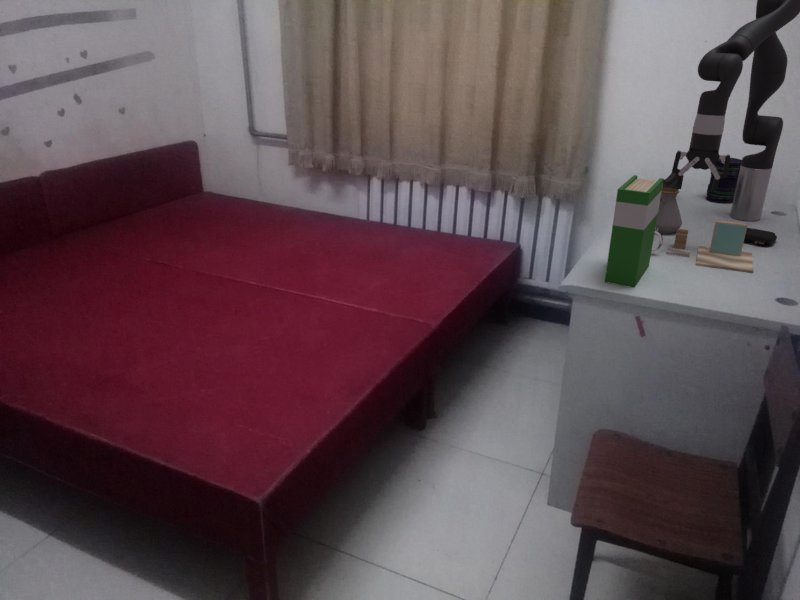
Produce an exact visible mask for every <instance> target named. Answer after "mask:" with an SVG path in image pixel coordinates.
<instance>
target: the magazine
mask: <svg viewBox="0 0 800 600" xmlns="http://www.w3.org/2000/svg"><path fill="white" fill-rule="evenodd" d="M663 179H664V180H663V186H662V188H672V189H676V190H678V191H680V189H679V187H677V180H678V175H677V174H675V173H673V172H672V171H671V173H670V174H669V175H668V177H666V178H663Z"/></svg>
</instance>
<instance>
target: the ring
mask: <svg viewBox="0 0 800 600" xmlns="http://www.w3.org/2000/svg"><path fill="white" fill-rule="evenodd" d="M654 235H657V236H658V239H659V244H658V246H657V247H656V248H655V249H653V250H652V251H651V254H654V253H656V252H658V251H659V250H660V249H661V247H662V245H663V239H664V238H663V236H662V233H659V232H658V228H657V230H656V227H655V233H654Z"/></svg>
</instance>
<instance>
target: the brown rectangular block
mask: <svg viewBox="0 0 800 600" xmlns="http://www.w3.org/2000/svg"><path fill="white" fill-rule="evenodd" d="M688 234H689V229H682V228H679V229H677V230H676V233H675V238H674V243H673V247H667V250H666V255H669V256H675V255H676V256H677V257H685V258H690V255H691V250H689V249H686V244H687V240H688Z"/></svg>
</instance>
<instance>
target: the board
mask: <svg viewBox="0 0 800 600" xmlns="http://www.w3.org/2000/svg"><path fill="white" fill-rule="evenodd" d="M709 251H710V246H704V245H703V246H702V245H698V247H697V254H696V259H695V266H701V267H705V268H706V267H707V268H713V269H721V270H728V271H729V270H730V271H736V272H742V273H749V274H750V273H751V274H754V272H755V271H754V263H753V261H754V259H753V253H752V252H749V251H748V252H747V251H742V252H741V256H734V255H727V254H719V253H712V252H709Z"/></svg>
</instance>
